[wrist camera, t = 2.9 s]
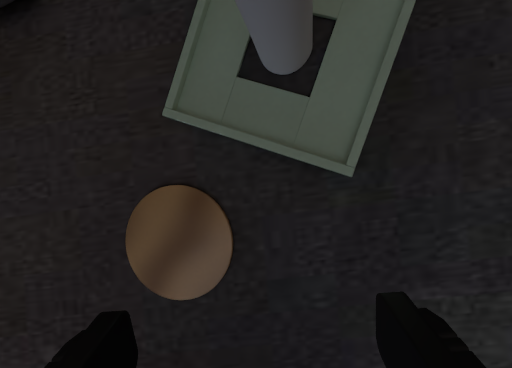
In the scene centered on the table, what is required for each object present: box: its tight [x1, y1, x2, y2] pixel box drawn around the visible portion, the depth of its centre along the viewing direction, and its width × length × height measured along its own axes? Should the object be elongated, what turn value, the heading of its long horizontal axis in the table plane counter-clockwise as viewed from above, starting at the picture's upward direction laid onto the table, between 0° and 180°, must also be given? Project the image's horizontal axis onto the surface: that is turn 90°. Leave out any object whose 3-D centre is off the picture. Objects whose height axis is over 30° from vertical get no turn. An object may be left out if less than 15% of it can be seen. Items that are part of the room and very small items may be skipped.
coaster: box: [126, 185, 233, 300], centre depth 27 cm, size 11×11×1 cm
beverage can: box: [235, 0, 313, 75], centre depth 20 cm, size 5×5×12 cm
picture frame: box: [162, 0, 416, 177], centre depth 25 cm, size 18×18×1 cm
